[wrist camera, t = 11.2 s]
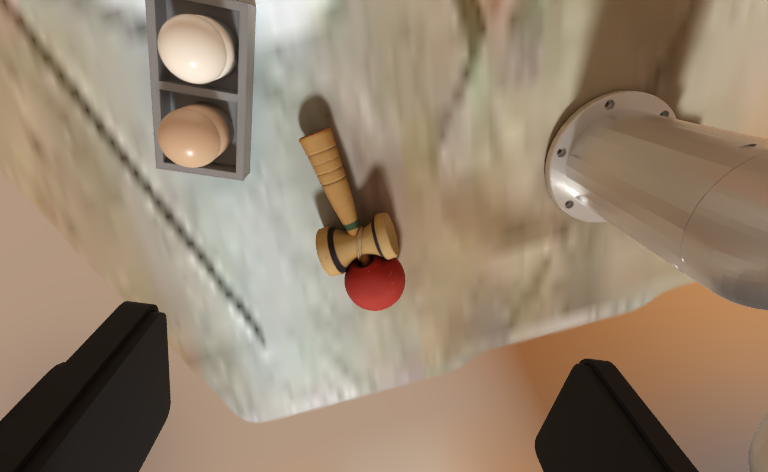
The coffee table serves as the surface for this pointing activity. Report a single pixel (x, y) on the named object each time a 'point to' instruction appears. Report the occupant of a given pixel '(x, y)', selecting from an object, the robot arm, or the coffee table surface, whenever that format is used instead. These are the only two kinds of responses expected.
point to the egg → (198, 48)
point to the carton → (203, 97)
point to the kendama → (354, 234)
